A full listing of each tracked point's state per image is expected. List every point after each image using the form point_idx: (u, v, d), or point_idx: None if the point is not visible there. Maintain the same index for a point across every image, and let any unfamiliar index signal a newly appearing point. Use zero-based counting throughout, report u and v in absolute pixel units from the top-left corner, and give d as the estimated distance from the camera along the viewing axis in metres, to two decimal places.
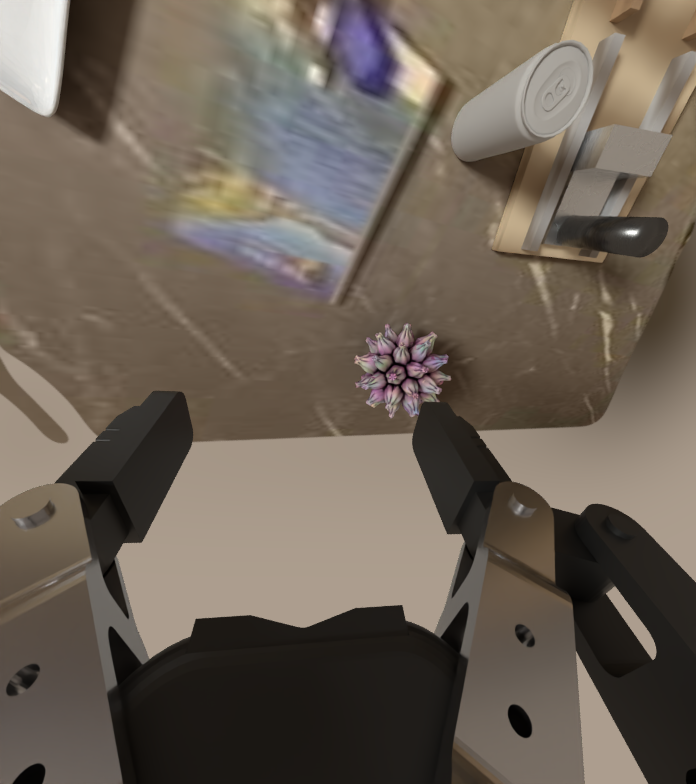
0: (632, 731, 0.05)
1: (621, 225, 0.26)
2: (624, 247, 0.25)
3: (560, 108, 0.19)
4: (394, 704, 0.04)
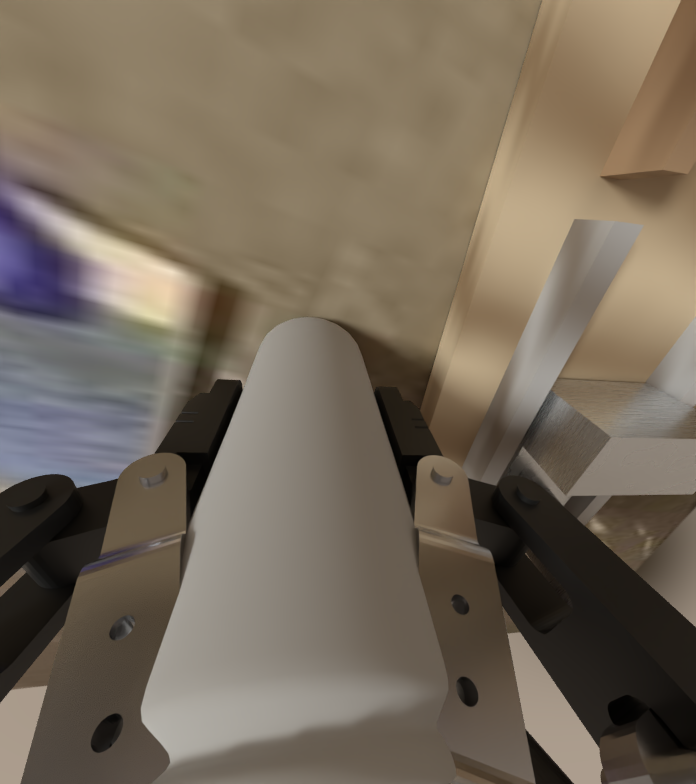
0: (563, 678, 0.06)
1: None
2: None
3: None
4: None
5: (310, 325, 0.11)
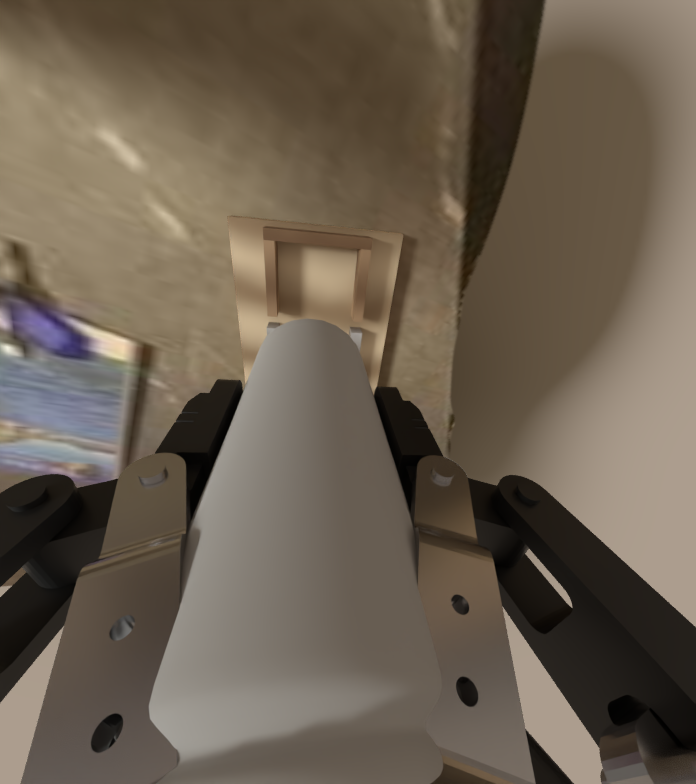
0: (563, 678, 0.06)
1: None
2: None
3: None
4: None
5: (310, 327, 0.11)
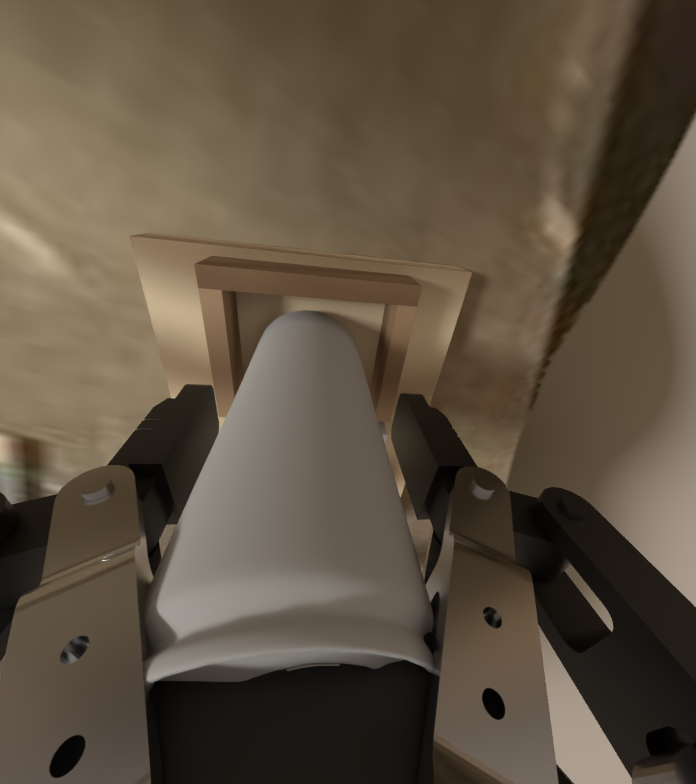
0: (597, 702, 0.05)
1: None
2: None
3: None
4: (394, 704, 0.04)
5: (307, 317, 0.12)
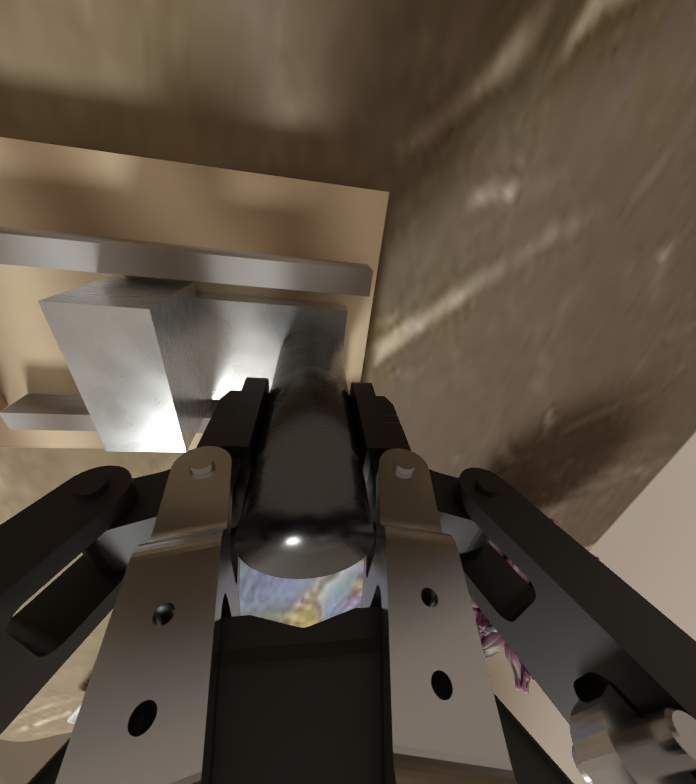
0: (531, 662, 0.06)
1: None
2: None
3: None
4: None
5: None
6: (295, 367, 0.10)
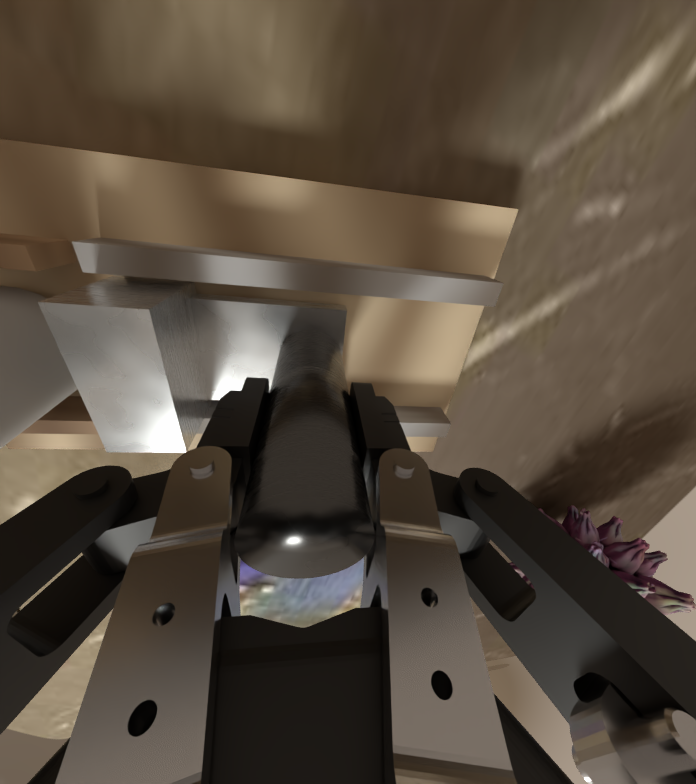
0: (531, 662, 0.06)
1: None
2: None
3: None
4: None
5: None
6: (295, 366, 0.10)
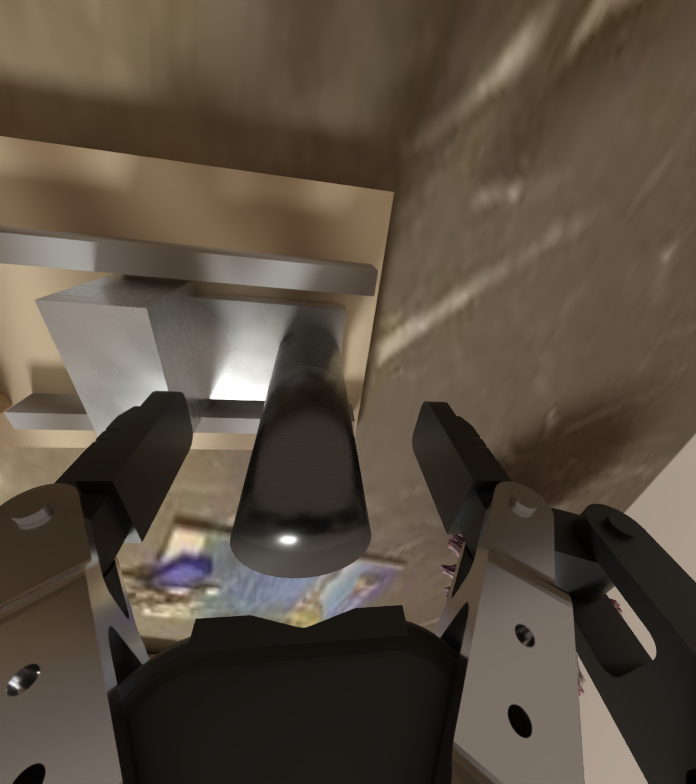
0: (632, 731, 0.05)
1: None
2: None
3: None
4: (394, 704, 0.04)
5: None
6: (293, 366, 0.10)
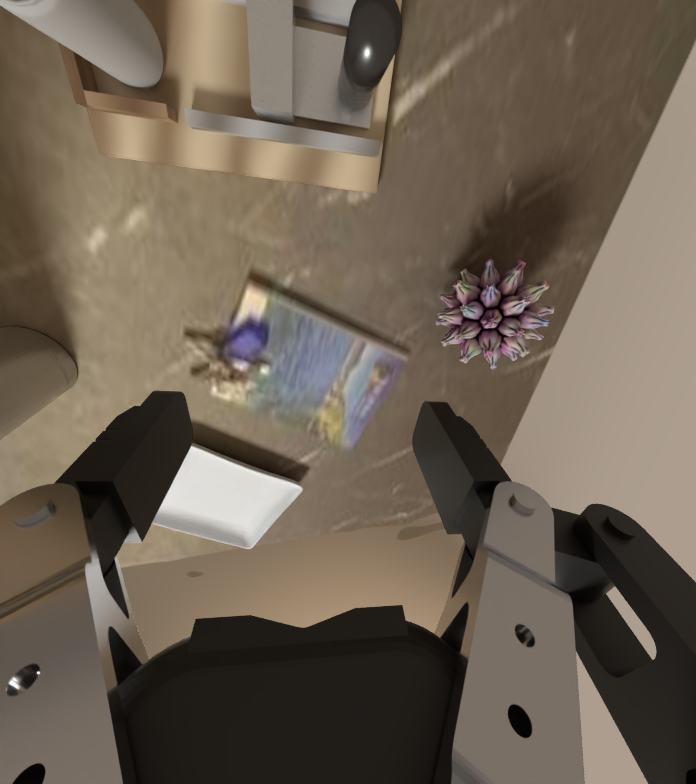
0: (632, 731, 0.05)
1: (355, 72, 0.18)
2: (385, 66, 0.18)
3: None
4: (394, 704, 0.04)
5: None
6: None
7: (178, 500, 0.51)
